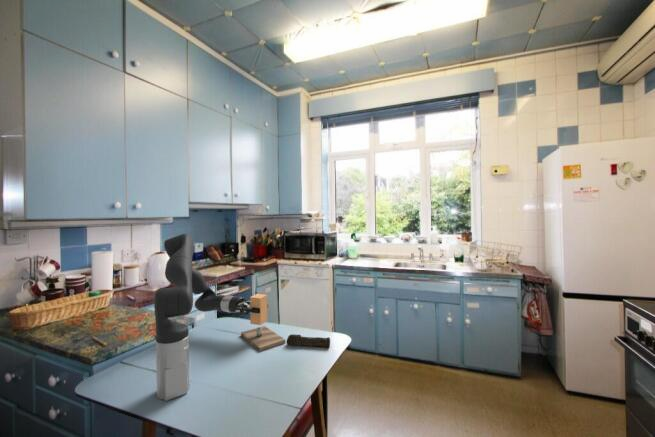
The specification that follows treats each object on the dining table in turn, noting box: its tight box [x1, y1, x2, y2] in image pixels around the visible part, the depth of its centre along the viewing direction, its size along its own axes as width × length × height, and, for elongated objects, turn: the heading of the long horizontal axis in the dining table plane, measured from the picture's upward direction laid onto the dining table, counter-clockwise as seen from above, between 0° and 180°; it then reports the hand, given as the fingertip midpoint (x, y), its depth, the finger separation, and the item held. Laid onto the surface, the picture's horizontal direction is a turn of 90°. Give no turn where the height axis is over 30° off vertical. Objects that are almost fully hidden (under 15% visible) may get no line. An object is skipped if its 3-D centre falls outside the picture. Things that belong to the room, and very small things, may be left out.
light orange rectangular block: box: [249, 293, 268, 326], centre depth 128 cm, size 5×5×12 cm
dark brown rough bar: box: [286, 334, 331, 349], centre depth 122 cm, size 19×4×5 cm, turn 80°
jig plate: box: [240, 325, 286, 352], centre depth 128 cm, size 20×12×5 cm, turn 39°
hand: (263, 308), depth 127 cm, fingers closed on light orange rectangular block, 5 cm apart
